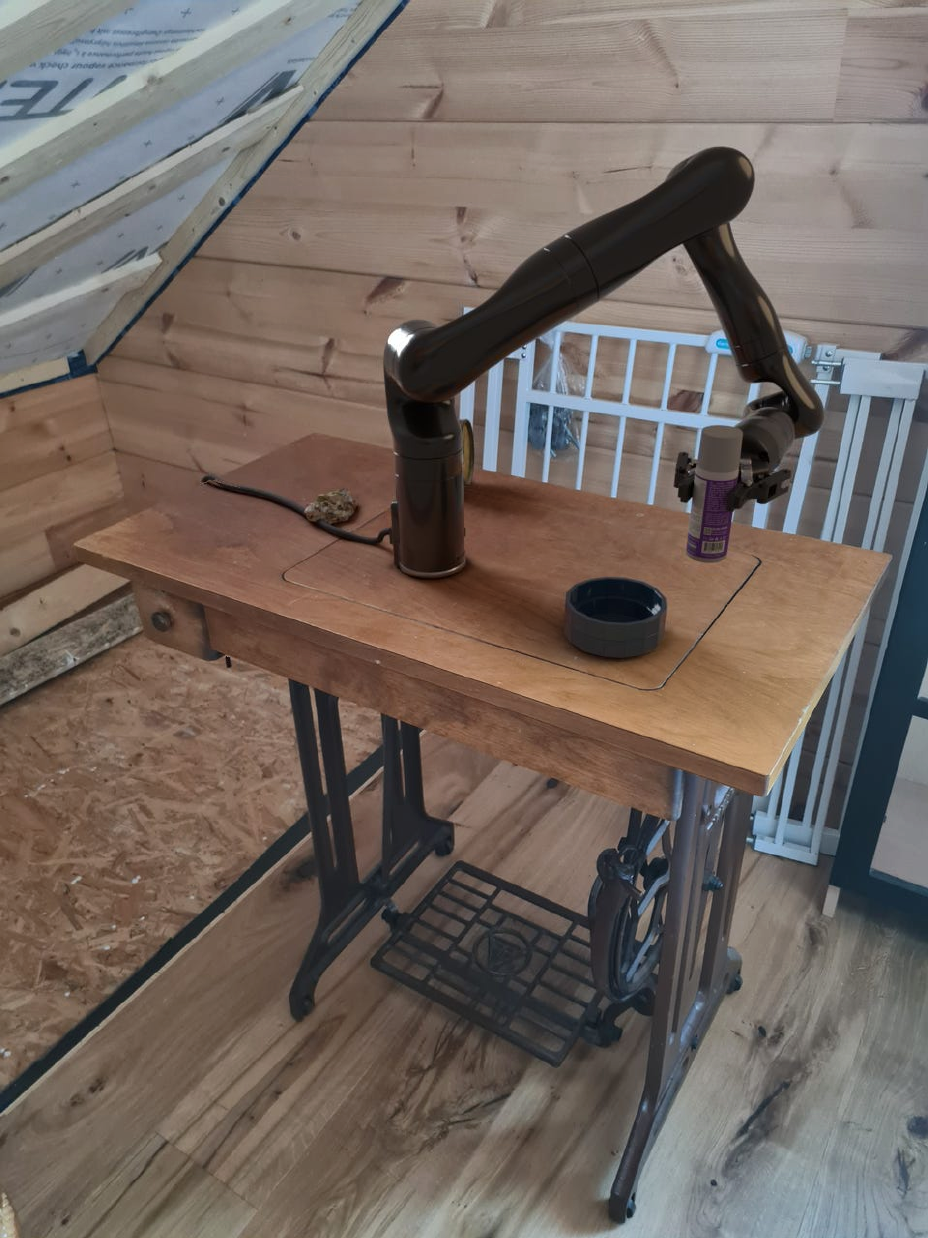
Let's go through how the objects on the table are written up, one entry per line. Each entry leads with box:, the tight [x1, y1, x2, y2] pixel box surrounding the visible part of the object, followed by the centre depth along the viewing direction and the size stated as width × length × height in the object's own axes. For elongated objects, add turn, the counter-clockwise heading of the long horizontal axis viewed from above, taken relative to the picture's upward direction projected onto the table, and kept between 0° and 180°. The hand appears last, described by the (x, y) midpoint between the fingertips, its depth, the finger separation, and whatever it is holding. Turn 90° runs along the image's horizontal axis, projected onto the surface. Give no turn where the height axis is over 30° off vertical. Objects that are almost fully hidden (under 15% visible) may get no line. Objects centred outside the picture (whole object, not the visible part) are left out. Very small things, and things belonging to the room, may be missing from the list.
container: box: [685, 424, 743, 564], centre depth 105 cm, size 5×5×15 cm
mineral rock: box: [304, 488, 357, 525], centre depth 146 cm, size 11×4×8 cm
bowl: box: [563, 576, 668, 659], centre depth 111 cm, size 12×12×5 cm
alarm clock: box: [454, 396, 475, 487], centre depth 151 cm, size 11×5×16 cm, turn 168°
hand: (707, 498), depth 102 cm, fingers closed on container, 4 cm apart
